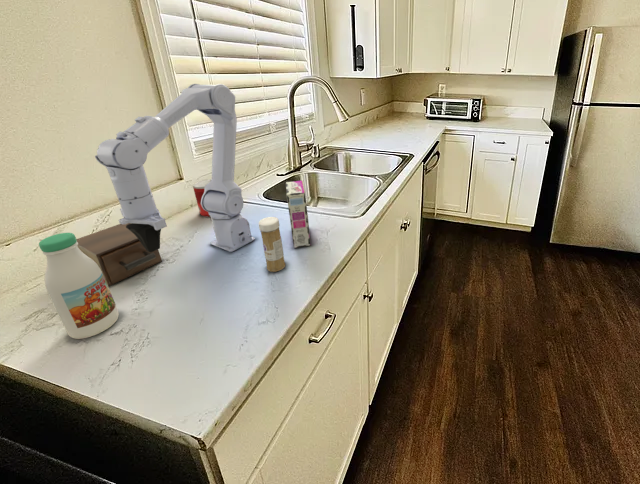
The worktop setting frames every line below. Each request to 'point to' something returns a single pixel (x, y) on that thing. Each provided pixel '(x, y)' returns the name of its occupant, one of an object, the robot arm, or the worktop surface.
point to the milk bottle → (77, 288)
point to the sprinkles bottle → (272, 243)
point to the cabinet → (107, 245)
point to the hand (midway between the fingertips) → (153, 249)
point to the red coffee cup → (199, 192)
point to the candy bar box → (298, 213)
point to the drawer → (128, 260)
